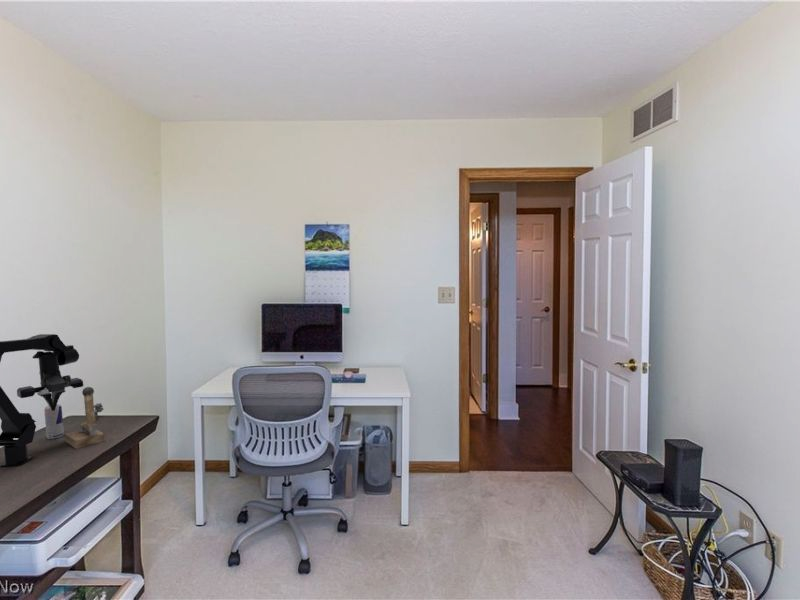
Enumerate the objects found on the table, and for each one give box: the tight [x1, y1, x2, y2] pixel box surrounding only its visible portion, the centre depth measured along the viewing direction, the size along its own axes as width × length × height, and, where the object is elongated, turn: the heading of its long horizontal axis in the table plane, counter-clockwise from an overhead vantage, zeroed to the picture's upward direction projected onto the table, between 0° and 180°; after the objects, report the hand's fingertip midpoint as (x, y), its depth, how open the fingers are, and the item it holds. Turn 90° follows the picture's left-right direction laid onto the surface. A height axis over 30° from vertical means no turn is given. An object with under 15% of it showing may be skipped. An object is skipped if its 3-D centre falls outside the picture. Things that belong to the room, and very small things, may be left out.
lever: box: [81, 386, 96, 431], centre depth 172 cm, size 4×4×17 cm
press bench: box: [64, 420, 105, 450], centre depth 173 cm, size 9×12×7 cm
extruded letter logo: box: [94, 402, 105, 422], centre depth 198 cm, size 25×2×6 cm, turn 20°
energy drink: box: [43, 404, 65, 440], centre depth 179 cm, size 5×5×12 cm
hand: (53, 410), depth 170 cm, fingers closed
